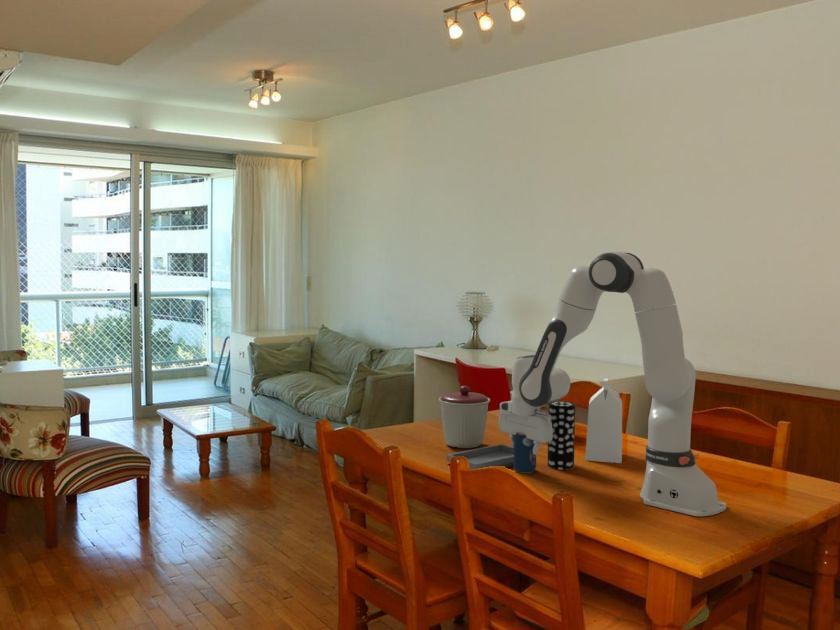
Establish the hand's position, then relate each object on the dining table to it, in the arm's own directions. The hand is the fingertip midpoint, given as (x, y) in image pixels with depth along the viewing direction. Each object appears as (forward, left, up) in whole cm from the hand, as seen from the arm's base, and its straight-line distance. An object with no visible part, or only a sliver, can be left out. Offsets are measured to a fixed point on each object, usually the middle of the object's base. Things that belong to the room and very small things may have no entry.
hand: (524, 451), depth 229 cm
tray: (+13, +3, -6) cm, 15 cm away
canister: (+35, -5, -6) cm, 36 cm away
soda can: (0, 0, -6) cm, 6 cm away
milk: (-4, -33, -6) cm, 34 cm away
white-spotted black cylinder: (-3, -13, -6) cm, 15 cm away
